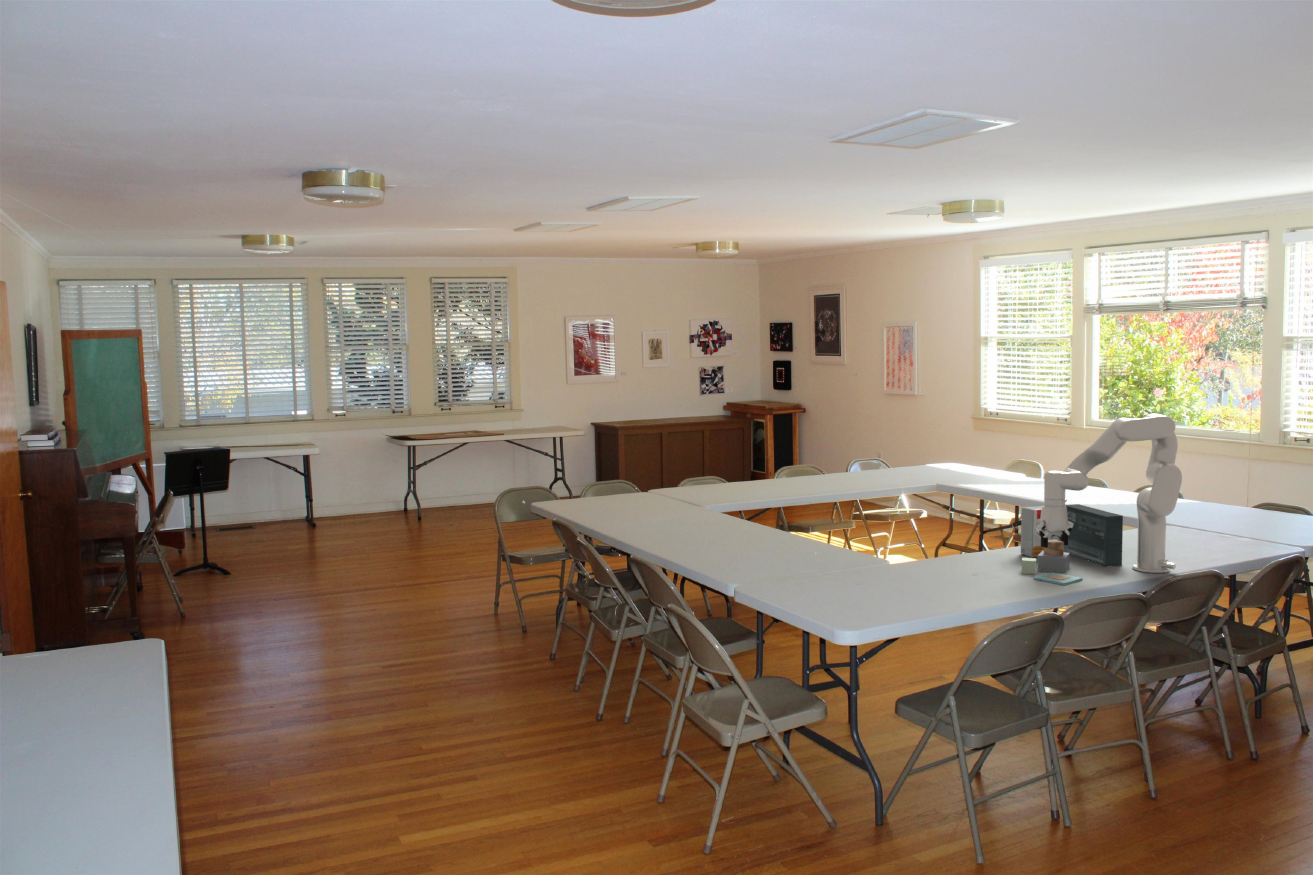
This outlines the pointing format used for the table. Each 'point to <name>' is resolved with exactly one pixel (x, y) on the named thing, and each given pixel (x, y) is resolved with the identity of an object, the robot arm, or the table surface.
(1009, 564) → the table surface
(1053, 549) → the walnut cube
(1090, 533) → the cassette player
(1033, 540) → the hard drive box
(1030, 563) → the sage cube
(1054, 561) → the plinth
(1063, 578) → the board
